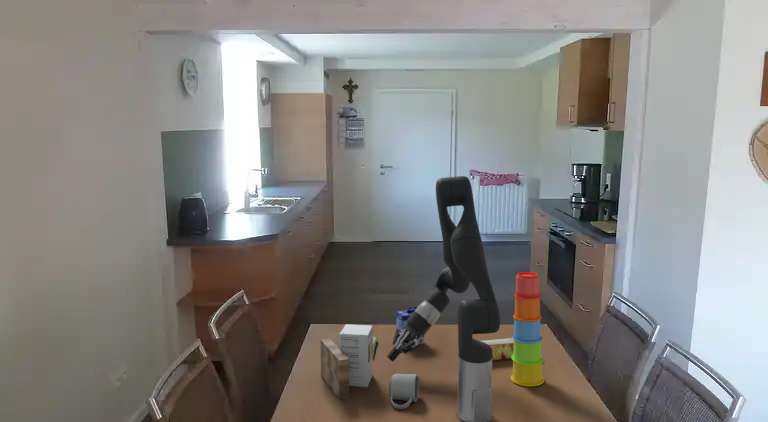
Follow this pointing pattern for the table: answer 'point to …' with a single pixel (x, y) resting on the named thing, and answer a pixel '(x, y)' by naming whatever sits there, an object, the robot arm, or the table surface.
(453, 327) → the table surface
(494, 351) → the snack package
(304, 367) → the table surface
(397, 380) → the ceramic mug
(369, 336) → the supplement box
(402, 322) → the ink cartridge box
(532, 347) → the stacking cups
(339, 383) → the wooden board
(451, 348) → the table surface
